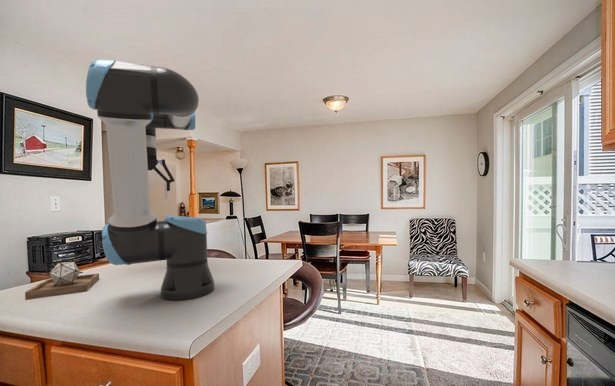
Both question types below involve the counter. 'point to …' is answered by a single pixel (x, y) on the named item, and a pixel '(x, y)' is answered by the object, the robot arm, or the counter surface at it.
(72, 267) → the game die
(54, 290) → the walnut tray
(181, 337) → the counter surface
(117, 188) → the robot arm
